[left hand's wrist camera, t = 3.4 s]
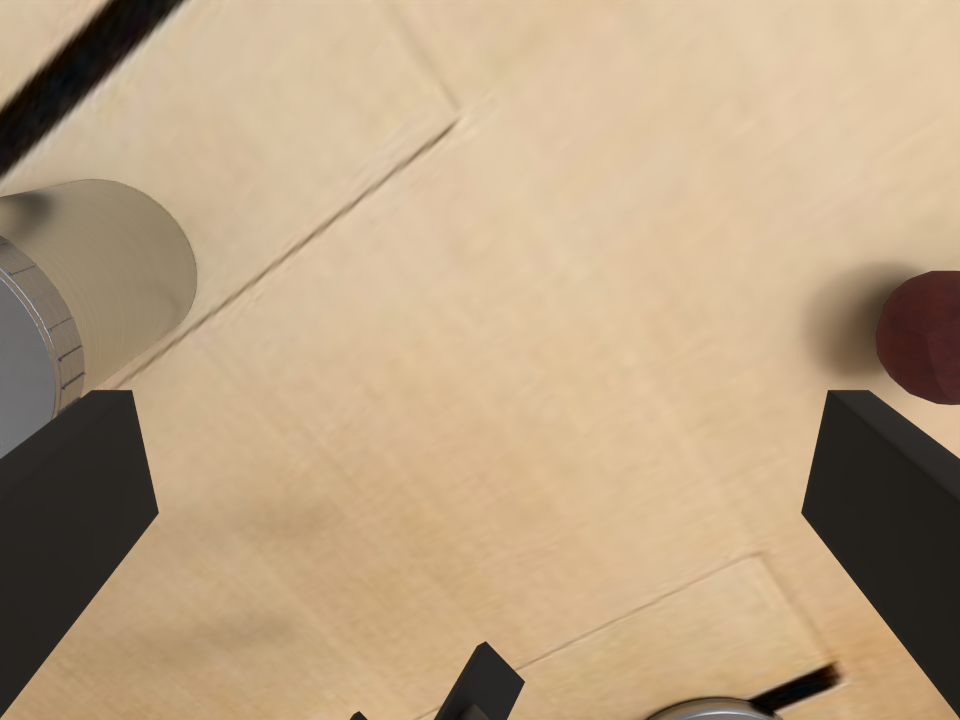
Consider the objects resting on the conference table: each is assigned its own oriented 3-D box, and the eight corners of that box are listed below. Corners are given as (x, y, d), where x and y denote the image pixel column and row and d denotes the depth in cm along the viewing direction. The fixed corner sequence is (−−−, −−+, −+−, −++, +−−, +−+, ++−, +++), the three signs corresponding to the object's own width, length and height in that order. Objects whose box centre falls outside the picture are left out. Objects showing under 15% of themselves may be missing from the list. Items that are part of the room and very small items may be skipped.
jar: (210, 341, 42) (74, 465, 28) (52, 345, 42) (-164, 470, 28) (179, 176, 38) (2, 223, 24) (5, 181, 38) (-273, 231, 24)
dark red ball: (877, 393, 43) (949, 446, 36) (831, 298, 40) (899, 337, 34) (989, 334, 41) (1085, 379, 35) (948, 232, 39) (1043, 259, 32)
